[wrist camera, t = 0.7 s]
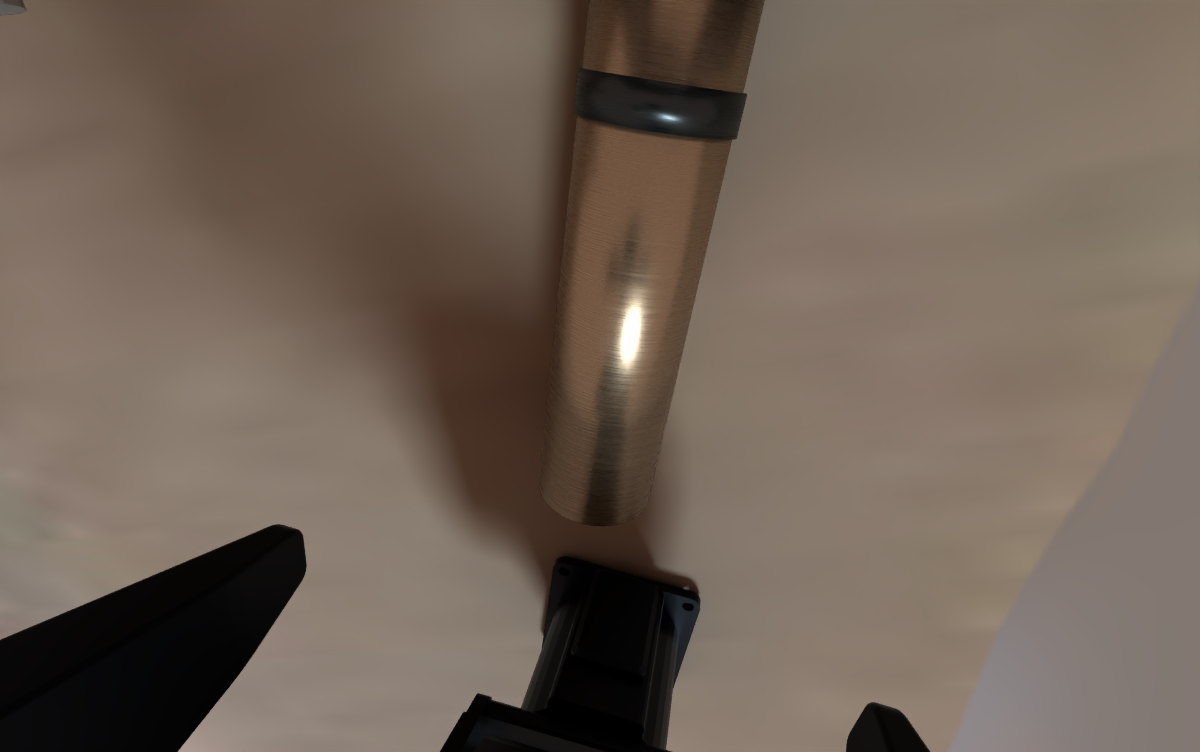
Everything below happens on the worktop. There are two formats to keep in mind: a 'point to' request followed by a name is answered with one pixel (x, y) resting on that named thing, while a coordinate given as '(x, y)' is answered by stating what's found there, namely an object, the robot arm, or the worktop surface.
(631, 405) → the tube
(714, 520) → the worktop surface
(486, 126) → the worktop surface
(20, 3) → the pipe connector
